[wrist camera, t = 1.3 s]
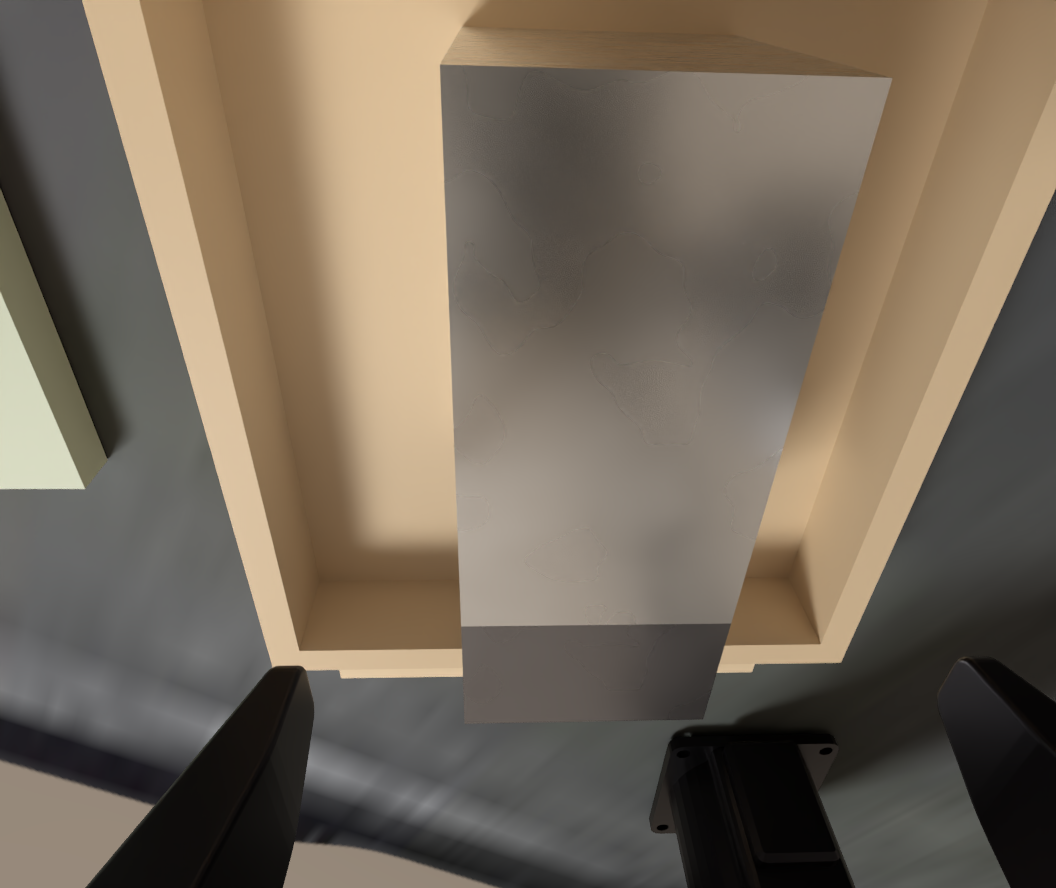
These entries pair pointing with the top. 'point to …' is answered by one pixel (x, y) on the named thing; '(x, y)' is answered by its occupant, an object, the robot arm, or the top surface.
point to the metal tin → (629, 344)
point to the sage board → (37, 385)
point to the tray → (423, 301)
